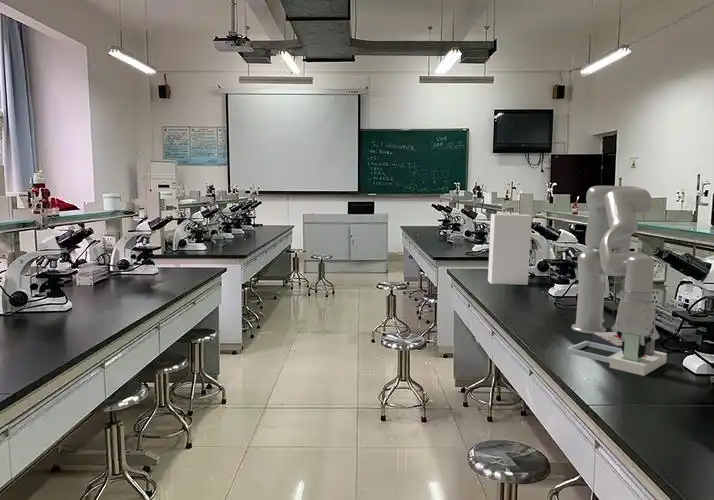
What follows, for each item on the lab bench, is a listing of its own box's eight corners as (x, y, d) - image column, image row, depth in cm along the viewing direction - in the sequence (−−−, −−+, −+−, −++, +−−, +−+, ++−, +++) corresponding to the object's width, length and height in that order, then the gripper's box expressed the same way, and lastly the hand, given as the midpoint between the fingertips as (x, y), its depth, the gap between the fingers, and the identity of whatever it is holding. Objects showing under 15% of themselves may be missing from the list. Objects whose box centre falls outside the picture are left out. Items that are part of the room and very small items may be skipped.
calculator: (618, 344, 189) (592, 331, 203) (616, 356, 189) (590, 342, 204) (646, 343, 191) (619, 330, 205) (645, 355, 191) (617, 341, 206)
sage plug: (628, 360, 174) (630, 330, 173) (641, 363, 171) (644, 333, 170) (623, 363, 171) (625, 333, 170) (636, 366, 168) (639, 335, 167)
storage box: (523, 281, 331) (526, 214, 327) (527, 284, 321) (531, 215, 316) (487, 280, 332) (490, 213, 327) (491, 284, 322) (494, 214, 317)
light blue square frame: (585, 347, 196) (585, 340, 196) (626, 357, 186) (626, 349, 186) (566, 355, 186) (566, 348, 186) (608, 365, 176) (609, 358, 176)
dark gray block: (640, 358, 181) (642, 330, 180) (653, 361, 178) (655, 332, 177) (635, 361, 178) (637, 332, 177) (648, 364, 175) (651, 335, 174)
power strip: (633, 358, 185) (634, 344, 184) (665, 365, 178) (667, 351, 177) (609, 370, 172) (610, 355, 171) (643, 379, 165) (644, 363, 164)
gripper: (604, 293, 172) (600, 351, 174) (663, 302, 160) (657, 364, 162) (614, 290, 177) (610, 347, 179) (671, 299, 165) (666, 359, 167)
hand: (633, 354), depth 171 cm, fingers closed on sage plug, 3 cm apart
